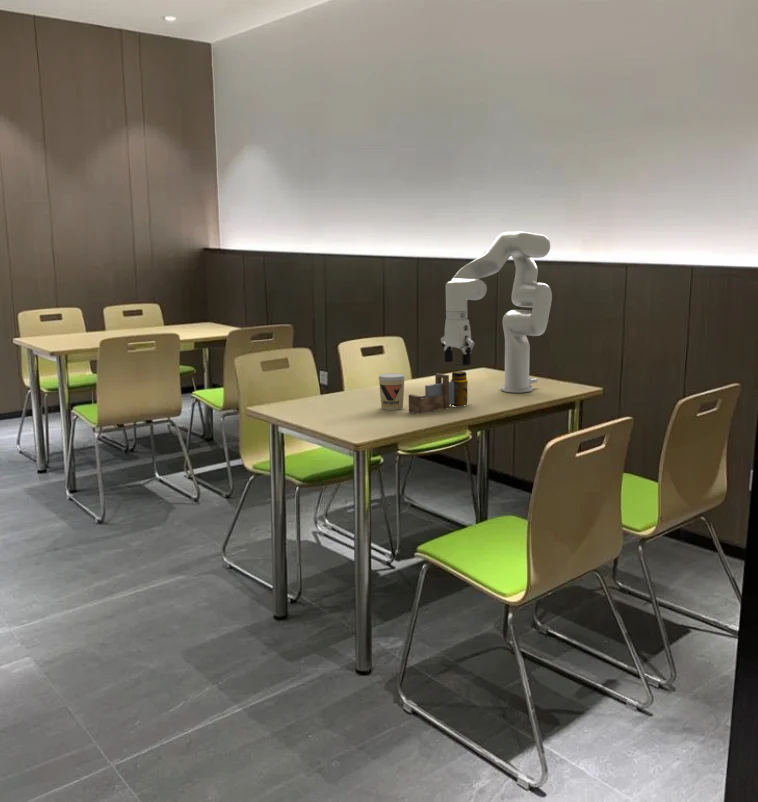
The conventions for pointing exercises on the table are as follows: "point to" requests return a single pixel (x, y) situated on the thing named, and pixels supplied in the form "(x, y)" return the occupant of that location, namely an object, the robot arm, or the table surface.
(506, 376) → the robot arm
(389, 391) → the coffee cup
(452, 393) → the gate
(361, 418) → the table surface
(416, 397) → the brown l-shaped block
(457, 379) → the condiment
